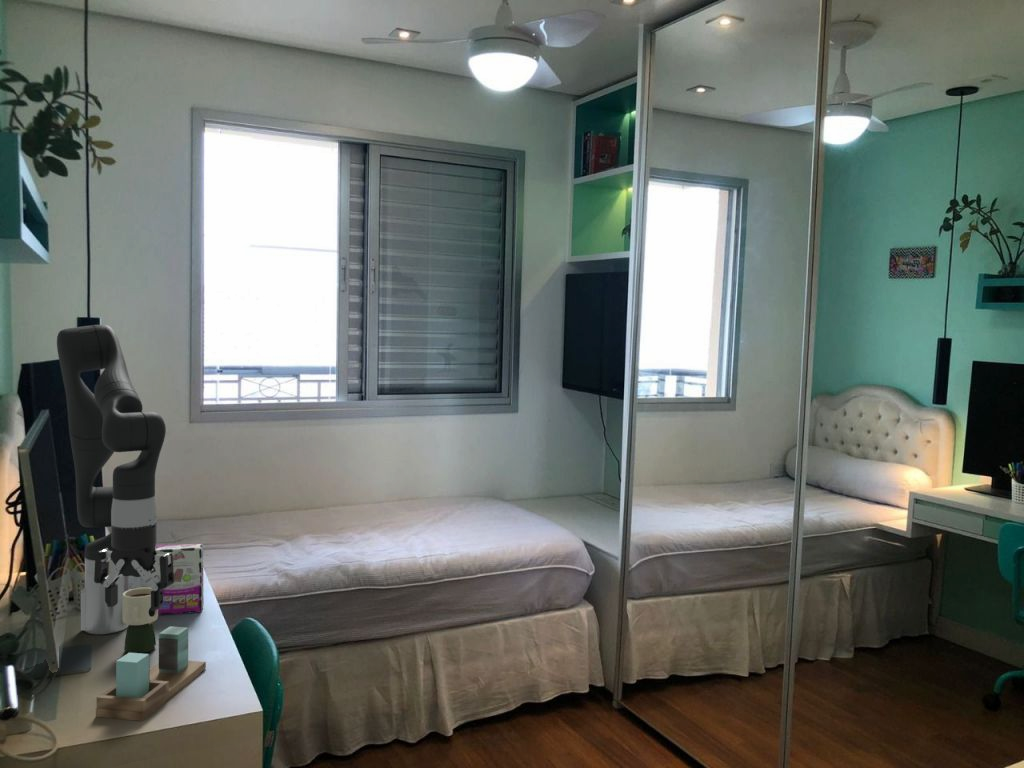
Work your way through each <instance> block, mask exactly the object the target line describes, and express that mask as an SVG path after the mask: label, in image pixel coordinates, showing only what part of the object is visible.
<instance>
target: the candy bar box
mask: <svg viewBox="0 0 1024 768" xmlns="http://www.w3.org/2000/svg"><path fill="white" fill-rule="evenodd" d="M155 548H156V549H155V550H156V552H157V554H167V553H172V555H173V569H174V583H173V584H172V585H170V586H168V587H166V588H164V589H163V605H162V606H161V607H160V608H159V609H158V616H166V615H180V614H181V613H183V614H193V613H195V612H197V613H201V612H203V608H204V603H205V601H204V599H205V598H204V597H205V596H204V543H189V544H188V543H187V544H185V543H184V544H169V545H168V544H167V545H156V546H155ZM154 565H155V566H156V568H157V569H158V570H159V572H160V566H158V562H157V561H156V562H155V563H154ZM159 575H160V574H159Z"/></svg>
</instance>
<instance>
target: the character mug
mask: <svg viewBox="0 0 1024 768" xmlns="http://www.w3.org/2000/svg"><path fill="white" fill-rule="evenodd" d="M151 591H152V588H135V589H131V590H128V591H125V592H124V593H123V596H122V621H123V623H124V624H127V625H129V626H128V627H127V628H126V633H125V638H124V639H125V640H124V648H123V649H124V650H123V651H125V652H127V653H142V654H145V653H148V652H151V651H152V650H155V649H156V646H157V644H156V643H157V642H156V633H155V628H154V625H153V622H156V621H157V620H158V618H159V615H158V609H157V610H156V611H155V610H151Z"/></svg>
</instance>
